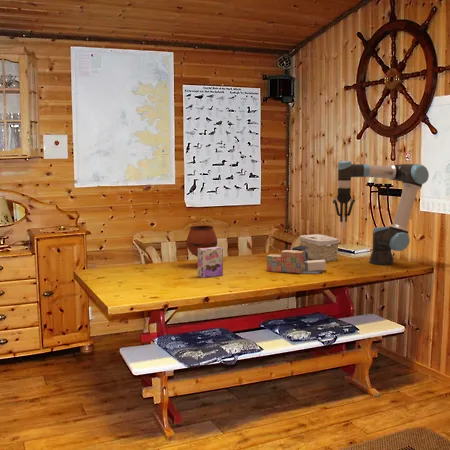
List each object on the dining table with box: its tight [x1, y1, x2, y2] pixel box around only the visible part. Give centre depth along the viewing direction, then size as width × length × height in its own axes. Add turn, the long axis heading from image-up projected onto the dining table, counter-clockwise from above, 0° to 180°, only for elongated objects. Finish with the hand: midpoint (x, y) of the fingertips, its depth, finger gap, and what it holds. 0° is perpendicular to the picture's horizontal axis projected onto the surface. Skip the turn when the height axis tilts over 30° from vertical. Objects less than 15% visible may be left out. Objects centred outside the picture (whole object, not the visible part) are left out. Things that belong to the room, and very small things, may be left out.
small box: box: [291, 245, 309, 261], centre depth 368 cm, size 11×6×10 cm, turn 143°
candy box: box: [197, 246, 224, 279], centre depth 333 cm, size 14×6×16 cm, turn 117°
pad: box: [299, 266, 324, 275], centre depth 345 cm, size 14×16×1 cm
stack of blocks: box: [266, 249, 305, 274], centre depth 343 cm, size 21×6×12 cm, turn 66°
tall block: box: [304, 259, 327, 271], centre depth 345 cm, size 5×6×12 cm
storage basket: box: [299, 233, 340, 262], centre depth 382 cm, size 24×16×15 cm
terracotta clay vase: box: [186, 224, 218, 268], centre depth 360 cm, size 19×19×25 cm
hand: (343, 227), depth 341 cm, fingers closed
